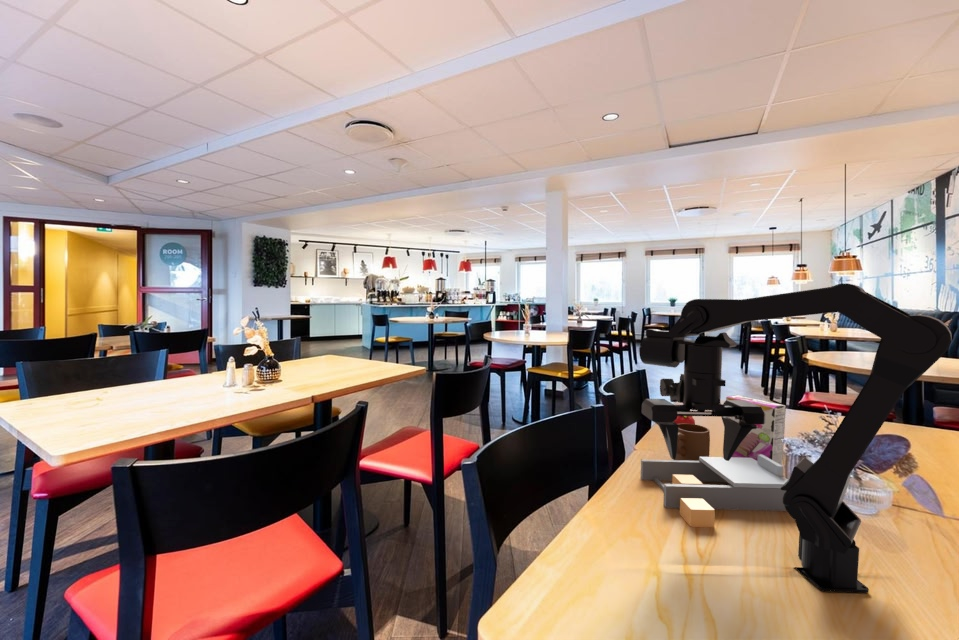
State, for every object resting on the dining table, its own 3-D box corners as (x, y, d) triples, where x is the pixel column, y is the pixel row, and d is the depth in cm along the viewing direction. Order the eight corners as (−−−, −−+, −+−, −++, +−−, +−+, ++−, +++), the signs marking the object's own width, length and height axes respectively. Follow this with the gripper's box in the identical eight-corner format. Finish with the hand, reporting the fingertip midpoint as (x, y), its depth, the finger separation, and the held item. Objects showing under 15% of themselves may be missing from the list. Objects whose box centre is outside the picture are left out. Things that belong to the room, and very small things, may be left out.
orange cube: (713, 532, 70) (714, 509, 70) (690, 532, 70) (691, 509, 70) (701, 520, 74) (702, 498, 74) (679, 519, 74) (680, 498, 74)
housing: (794, 515, 75) (795, 489, 75) (665, 512, 76) (666, 486, 76) (750, 484, 88) (751, 461, 88) (640, 481, 89) (641, 459, 89)
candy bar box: (722, 461, 101) (724, 396, 100) (734, 458, 103) (736, 394, 102) (771, 479, 91) (774, 407, 90) (783, 475, 93) (786, 404, 92)
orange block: (702, 504, 77) (703, 483, 77) (681, 503, 78) (681, 483, 77) (692, 494, 81) (692, 474, 81) (671, 493, 82) (672, 474, 81)
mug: (688, 480, 90) (689, 438, 90) (656, 468, 96) (657, 429, 96) (714, 468, 97) (716, 429, 96) (683, 457, 103) (685, 421, 103)
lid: (795, 488, 75) (796, 473, 75) (734, 487, 75) (734, 472, 75) (751, 461, 88) (752, 448, 88) (699, 460, 88) (699, 447, 88)
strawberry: (698, 441, 115) (700, 406, 115) (687, 447, 111) (688, 410, 110) (677, 435, 120) (678, 402, 119) (665, 441, 115) (666, 406, 115)
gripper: (730, 364, 78) (727, 444, 79) (632, 363, 79) (630, 442, 80) (769, 375, 67) (765, 467, 68) (654, 373, 68) (652, 465, 69)
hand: (699, 459), depth 71 cm, fingers open, 9 cm apart
